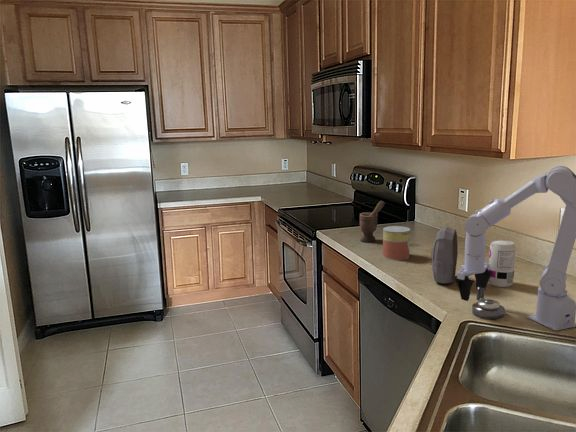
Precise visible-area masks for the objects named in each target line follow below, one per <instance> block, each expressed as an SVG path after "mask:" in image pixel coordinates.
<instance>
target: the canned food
mask: <svg viewBox="0 0 576 432" xmlns="http://www.w3.org/2000/svg"><path fill="white" fill-rule="evenodd" d="M382 231H383V232H382V257H383V258H384V257H385V259H387V260H391V259H393V260H394V261H402V260H403V261H404V260H408V259H409V258H410V256H411V255H410V253H411V252H410V249H411V248H410V245H411V243H410V242H411V228H409V227H407V226H402V225H390V226H385V227H383V228H382ZM393 260H392V261H393Z"/></svg>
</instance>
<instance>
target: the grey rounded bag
mask: <svg viewBox="0 0 576 432" xmlns="http://www.w3.org/2000/svg"><path fill="white" fill-rule="evenodd" d="M458 244H459V243H458V234H457V229H454V228H451V227H449V226H446V227H442V228H440V230H439V231H437V233H436V235H435V238H434V241H433V245H432V248H431V257H430V261H431V263H430V265H431V269H432V273H433V274H432V275H433V279H434V280H433V281H435V282H436V283H438V284H439V283H440V284H450V283H453V282H454V281H455V280H454V277H455V276H456V271H457V262H458V254H459V253H458V252H459V251H458Z"/></svg>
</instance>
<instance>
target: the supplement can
mask: <svg viewBox="0 0 576 432" xmlns="http://www.w3.org/2000/svg"><path fill="white" fill-rule="evenodd" d="M516 250H517V249H516V245H515V243H514V242H513V241H511V240H505V239H495V240H492V241H491V243H490V245H489V256H488V263H489V264H490V269H489V271H492V272H493V275H492V276H491V277H490V279H489V281H488V283H489V284H490V285H491V286H494V287H498V288H508V287H511V286H512V285H514V278H515V264H516V263H515V262H516V261H515V260H516Z"/></svg>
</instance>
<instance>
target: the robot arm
mask: <svg viewBox="0 0 576 432" xmlns="http://www.w3.org/2000/svg"><path fill="white" fill-rule="evenodd" d="M549 190H550V191H551V192H552V193H554V194H555V195H557V196H558V197H559V198H560V200H562V202H563V203H564V204H565V207H564V211H563V214H562V216H561V222H560V225H559V227H558V231H557V235H556V238H555V241H554V246H553V247H552V251H551V255H550V258H549V261H548V264H547V265H546V266H545V267H544V268H543V269H542V270H541V271H542V272H541V278H540V280H539V287H538V288H537V299H536V309H535V314H534V315H529V316H528V317H527V318H528V319H530V320H532V321H534V322H536V323H538V324H540V325H542V326H545V327H547V328H548V329H550V330H553V331H561V330H565V329H570V328H575V327H576V301H575V300H574V299H572V298H571V297H570V296H569V295H568V291H567V290H568V289H567V290H566V288H567V284H566V283H567V270H568V266H569V262H570V259H571V255H572V252H573V249H574V245H575V242H576V174H575V172H574V171H573V170H571V169H570V168H569V167H567V166H564V165H558V166H554V167H553V168H551V169H550V170H549V172H548V171H546V172H544V173H543V172H542V173H541V174H540V175H538V176H536V177H534V178H532V179H531V180H530V181H528V182H527V183H526V184H524V185H523V186H521V187H520V188H518V189H517V190H515V191H514V192H513V193H512V194H510V195H509V196H507V197H506V198H496V199H491V200H489V201H488V204H487V205H486V206H484V207H483V208H481V209H476V210H475V212H474V213H473V214H472V215H471V214H470V216H469V217H468V218H467V219H466V220H465V222H464V230H465V239H464V241H465V242H464V264H461V266H460V268H461V269H460V270H459V271H457V274H456V275H455V277H454V281H455V283H456V285H457V287H458V290H459V295H460V299H461V300H463V301H465V302H468V301H469V300H470V295H471V290H472V287H473V284H474V283H475V289H476V292H477V287H478V286H483V287H485V290H487V289H486V288H487V287H488V283H489V282H488V281H489V279H490V277H491V276H492V275H493V272H492V271H489V269H490V264H489V262H486V261H485V259H486V241H487V240H486V233H487V232H486V229H487V228H490V227H492V226H494V225H496V224H498V223H499V222H500V221H502V220H504V219H505V218H507V217H509V216H510V215H511V212H512V211H511V210H512V208H514V207H516V206H518V205H519V204H521V203H522V202H523V201H525V200H527V199H528V198H530V197H532V196H534V195H535V194H542V193H543V194H544V193H545V194H547V193H548V191H549ZM473 275H474V277H475V280H473V279H470V277H471V276H473Z"/></svg>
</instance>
